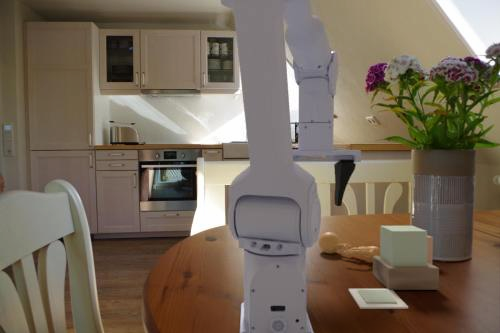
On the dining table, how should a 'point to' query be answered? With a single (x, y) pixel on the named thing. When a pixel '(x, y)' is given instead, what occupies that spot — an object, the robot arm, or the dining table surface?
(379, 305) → the swatch
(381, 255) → the sage block
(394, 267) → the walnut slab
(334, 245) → the figurine
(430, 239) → the terracotta block
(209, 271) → the dining table surface
